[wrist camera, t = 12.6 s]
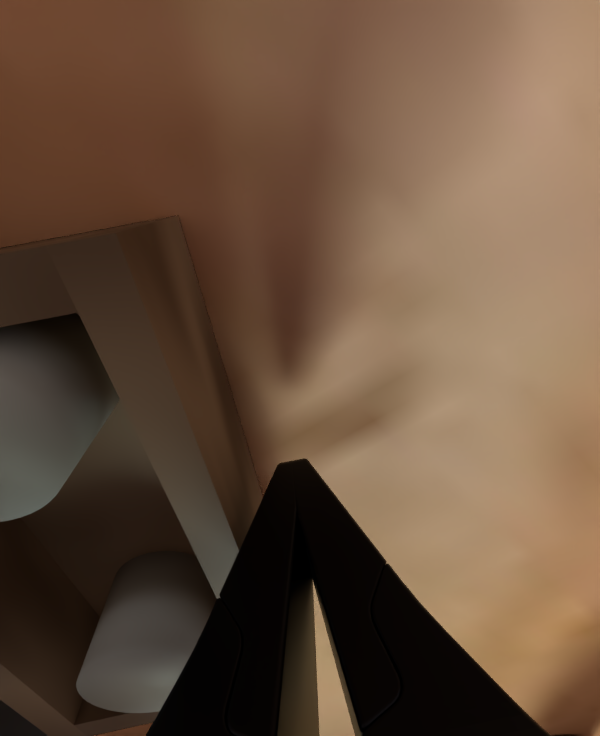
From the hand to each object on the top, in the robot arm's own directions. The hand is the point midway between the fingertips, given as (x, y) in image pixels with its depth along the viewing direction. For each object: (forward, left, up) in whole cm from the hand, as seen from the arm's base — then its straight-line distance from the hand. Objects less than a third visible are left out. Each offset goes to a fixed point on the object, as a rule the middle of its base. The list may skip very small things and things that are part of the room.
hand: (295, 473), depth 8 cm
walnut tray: (0, +5, -2) cm, 5 cm away
